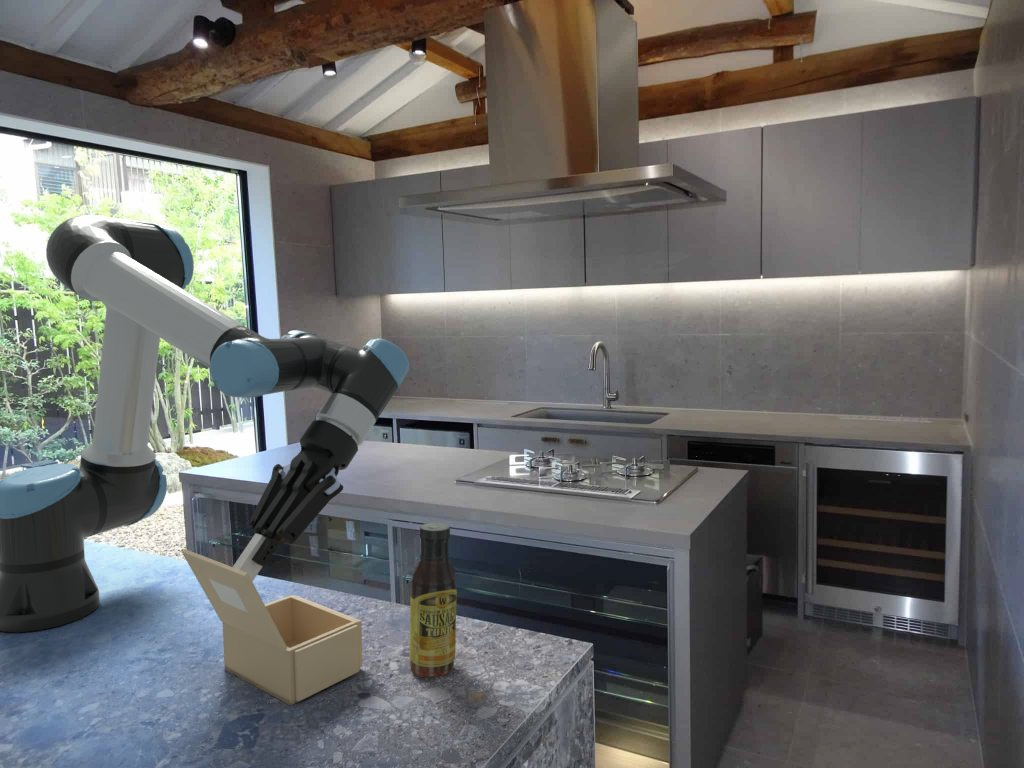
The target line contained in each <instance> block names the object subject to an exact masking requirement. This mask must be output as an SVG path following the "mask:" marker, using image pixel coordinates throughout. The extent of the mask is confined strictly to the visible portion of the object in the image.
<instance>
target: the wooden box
mask: <svg viewBox="0 0 1024 768" xmlns="http://www.w3.org/2000/svg"><path fill="white" fill-rule="evenodd" d="M264 605H265V607H266V608H267V610H268V612H269V614H270V616H271V618H272V620H273V622H274V624H275V625H276V627H277V629H278V631H279V633H280V635H281V637H282V639H283V641H284V643H285V644H286V646H287V649H286V650H285V651H283V650H281V649H279V648H277V647H275V646H273V645H270V644H268V643H266V642H264V641H262V640H260V639H258V638H256V637H254V636H251V635H249V634H247V633H245V632H243V631H241V630H239V629H237V628H235V627H233V626H230V625H228V624H226V623H224V622H222V639H223V642H222V643H223V664H224V665H223V668H224V670H225V671H226V672H229V673H230V674H232V675H233V676H236V677H238V678H239V679H240V680H243V681H244V682H245V683H246V682H247V683H249V684H250V685H252V686H254V687H256V688H258V689H259V690H261V691H262V692H265V693H267V694H269V695H270V696H272V697H274V698H276V699H278V700H279V701H282V702H283V703H285V704H287V705H288V706H290V707H291V706H293V705H295V704H297V703H299V702H301V701H303V700H305V699H307V698H309V697H311V696H312V695H315V694H317V693H319V692H321V691H323V690H325V689H327V688H330V686H333V685H335V684H337V683H339V682H342V681H343V680H345V679H347V678H350V677H351V676H353V675H355V674H357V673H359V672H360V671H361V667H363V635H362V634H363V632H362V620H360V619H358V618H355V617H352V616H350V615H347V614H346V613H343V612H340V611H338V610H334V609H332V608H329V607H328V606H324V605H322V604H320V603H317V602H314V601H311V600H309V599H306V598H304V597H301V596H298V595H293V594H291V595H288V596H284V597H281V598H279V599H276V600H273V601H270V602H267V603H264Z"/></svg>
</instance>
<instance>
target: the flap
mask: <svg viewBox="0 0 1024 768" xmlns="http://www.w3.org/2000/svg"><path fill="white" fill-rule="evenodd" d="M181 554H182V555H183V557H184V559H185V561H186V562H187V564H188V566H189V568H190V570H191V571H192V573H193V574H194V576H195V578H196V580H197V581H198V584H199V585H200V587H201V589H202V591H203V593H204V594H205V596H206V597H207V599H208V601H209V603H210V605H211V606H212V608H213V610H214V612H215V613H216V615H217V617H218V618H219V620H220V622H222V623H223V622H224V623H226V624H228V625H230V626H233V627H235V628H237V629H239V630H241V631H243V632H245V633H247V634H249V635H251V636H254V637H256V638H258V639H260V640H262V641H264V642H266V643H268V644H270V645H273V646H275V647H277V648H279V649H281V650H283V651H285V650H286V649H287V646H286V644H285V643H284V641H283V639H282V637H281V635H280V633H279V631H278V629H277V627H276V625H275V624H274V622H273V620H272V618H271V616H270V614H269V612H268V610H267V608H266V607H265V605H264V604H265V603H264V601H263V599H262V597H261V595H260V594H259V592H258V590H257V588H256V586H255V584H254V581H253V582H252V580H251V578H250V576H249V574H248V573H246V572H244V571H241V570H238V569H236V568H233V566H230V565H229V564H228V565H227V564H225V563H223V562H219V560H218V561H217V560H215V559H212V558H210V557H207V556H205V555H202V554H199V553H196V552H193V551H191V550H188V549H186V548H184V549H183V550H181Z"/></svg>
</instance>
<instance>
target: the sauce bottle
mask: <svg viewBox="0 0 1024 768" xmlns="http://www.w3.org/2000/svg"><path fill="white" fill-rule="evenodd" d="M419 537H420V554H419V559H420V561H419V562H418V564H417V565H416V566H415V567H414V571H413V574H412V577H411V592H410V599H409V600H410V604H409V605H410V614H409V617H410V618H409V654H408V655H409V656H408V658H409V660H410V661H409V664H410V665H409V666H410V671H411V673H413V674H414V675H415V676H416V677H417V676H418V677H422V678H427V679H433V678H434V679H435V678H440V677H444V676H445V675H447V674H449V673H451V672H452V670H453V668H454V664H455V659H456V646H457V645H456V643H457V639H456V637H457V636H456V635H457V629H456V628H457V623H456V622H457V595H458V594H457V593H458V591H457V590H458V589H457V581H456V571H455V568H454V566H453V564H452V562H451V560H450V553H449V539H450V537H451V527H450V525H449V524H446V523H443V522H429V523H424V524H422V525H421V526H420V527H419Z"/></svg>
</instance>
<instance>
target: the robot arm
mask: <svg viewBox="0 0 1024 768" xmlns="http://www.w3.org/2000/svg"><path fill="white" fill-rule="evenodd" d="M45 251H46V252H45V254H46V255H45V256H46V260H47V261H46V262H47V264H48V268H49V269H50V271H51V272H52V275H54V277H55V278H56V280H58V282H59V283H61V284H62V285H63V286H64V287H65V288H66V289H68V290H70V291H71V292H73V293H75V294H76V295H78V296H79V297H81V298H82V299H85V300H87V301H90V302H101V304H102V305H104V307H105V320H104V327H103V328H104V330H103V335H102V336H103V338H102V347H101V359H100V367H99V376H98V387H97V396H96V405H95V406H96V407H95V416H94V426H93V433H92V435H93V436H92V442H91V443H90V444H89V445H88V446H86V447H85V448H83V449H82V450H81V453H80V454H81V455H80V460H79V461H80V463H79V467H78V466H77V465H75V464H72V463H52V464H47V465H44V466H34V467H30V468H27V469H23V470H20V471H17V472H14V473H11V474H9V475H8V476H6V477H4V478H3V479H1V480H0V632H2V633H3V632H5V633H25V632H35V631H41V630H47V629H50V628H55V627H59V626H63V625H65V624H69V623H72V622H75V621H77V620H78V621H79V620H80V619H82V618H84V617H87V616H88V615H90V614H92V613H93V612H95V611H96V610H97V609H96V608H97V606H98V605H99V606H100V604H99V603H100V602H101V601H100V590H99V588H98V585H97V583H96V581H95V578H94V576H93V574H92V572H91V570H90V567H89V566H88V563H87V562H86V557H85V541H84V540H85V539H86V538H89V537H93V536H96V535H99V534H102V533H105V532H108V531H112V530H115V529H119V528H122V527H124V526H125V527H127V526H132V525H134V524H137V523H138V522H141V521H143V520H145V519H147V518H149V517H151V516H153V515H154V514H156V512H157V511H159V509H160V508H161V506H162V505H163V503H164V501H165V498H166V493H167V490H168V487H167V486H168V481H167V475H166V474H163V472H164V468H163V466H162V465H161V463H160V462H159V461H158V460H157V459H156V457H157V455H156V453H155V452H154V451H153V450H152V448H150V447H149V445H148V444H149V439H150V438H149V437H150V429H151V428H150V427H151V420H152V419H151V418H152V410H153V402H154V396H155V394H154V393H155V385H156V376H157V375H156V374H157V369H158V358H159V350H160V342H161V339H162V340H163V341H165V342H167V343H168V344H170V345H172V346H173V347H174V348H176V349H178V350H179V351H181V352H182V353H184V354H186V355H187V356H189V357H190V358H192V359H194V360H195V361H196V362H199V364H200V363H201V364H202V365H204V366H205V367H207V368H208V369H209V371H210V377H211V379H212V381H213V382H214V383H215V385H216V387H217V389H218V390H219V391H220V392H221V393H222V394H224V395H226V396H229V397H232V398H257V397H262V396H266V395H270V394H276V393H282V392H289V391H297V390H298V391H299V390H303V389H311V388H314V389H318V390H321V391H325V392H327V393H329V394H330V395H329V397H328V398H327V399H326V401H325V402H324V404H323V405H322V407H320V409H319V411H318V412H317V414H316V415H315V420H312V421H311V423H310V424H309V426H308V427H307V429H306V430H305V432H304V433H303V435H302V436H301V437H300V439H299V444H300V451H299V452H298V453H297V455H295V456H294V457H293V458H292V459H291V460H290V463H289V464H286V465H284V466H282V465H281V464H280V463H277V464H275V465H274V466H273V467H272V470H271V471H272V473H271V475H270V476H271V477H270V479H269V481H268V483H267V485H266V487H265V488H264V489H265V490H264V492H263V493H262V494H261V497H260V499H259V501H258V503H257V505H256V507H255V509H254V510H253V512H252V515H251V517H250V519H249V521H248V523H247V524H248V526H249V527H250V528H251V529H252V530H253V534H252V535H251V538H250V539H249V540H248V542H247V543H246V545H245V546H244V548H243V549H242V551H241V553H240V556H239V557H238V558H237V560H236V562H235V563H234V565H232V567H233V568H236V569H238V570H241V571H244V572H246V573H248V574H249V576H250V578H251V580H252V582H253V583H254V580H255V579H256V577H257V575H258V574H259V573H260V571H261V570H262V568H263V567H264V566H266V564H267V563H268V562H269V559H270V558H271V557H272V555H273V554H274V552H275V551H276V549H277V548H278V547H279V546H282V545H283V544H285V543H288V544H290V545H292V544H294V543H295V542H296V541H297V540H298V538H299V537H300V536H301V535H302V533H303V532H305V530H306V529H307V528H308V526H310V524H311V523H312V522H313V521H314V520H315V519H316V517H317V516H318V515H319V514H320V512H322V510H323V509H324V508H325V507H326V505H327V504H328V503H329V502H330V501H331V500H332V499H333V498H335V497H336V496H338V495H339V494H340V493H341V492H343V490H344V485H342V483H341V482H340V481H338V478H337V476H338V474H339V472H340V471H343V470H346V469H347V468H348V467H349V465H350V463H351V462H352V460H354V457H355V456H356V454H357V453H358V451H359V446H362V445H363V443H364V441H365V440H366V438H367V436H368V435H369V433H370V432H371V431H372V429H373V428H374V425H375V424H376V422H377V421H378V420H379V417H380V416H381V414H382V413H383V411H384V410H385V409H386V407H387V405H388V404H389V402H390V401H391V400H392V398H393V397H394V396H395V394H396V392H397V391H399V389H400V387H401V384H402V382H403V381H404V379H405V377H406V375H407V373H408V372H409V369H410V361H409V359H408V357H407V355H406V353H405V352H404V351H403V350H402V349H401V348H400V347H399V346H398V345H396V344H395V343H393V342H392V341H390V340H387V339H385V338H382V337H381V338H378V337H377V338H371V339H369V340H368V341H367V342H366V344H364V345H363V346H362V348H361V349H360V348H357V347H354V346H353V347H352V346H349V345H346V344H343V343H340V342H337V341H333V340H331V339H328V338H325V337H323V336H320V335H318V334H317V333H313V332H306V331H302V330H298V329H294V330H290V331H288V332H287V333H286V334H284V335H282V336H280V338H267V337H265V336H262V335H261V334H259V333H258V332H255V331H254V330H252V329H250V328H248V327H247V326H245V325H244V324H242V323H240V322H239V321H237V320H235V319H234V318H232V317H230V316H228V314H225V313H223V312H222V311H220V310H218V309H217V308H215V307H214V306H212V305H210V304H208V303H206V302H205V301H203V300H202V299H200V298H199V297H197V296H195V295H194V294H192V293H190V292H188V291H187V290H185V289H187V286H188V285H190V284H191V281H192V279H193V276H194V275H193V274H194V268H195V267H194V259H193V254H192V250H191V248H190V246H189V244H188V243H187V242H186V240H185V238H184V237H183V236H182V234H181V233H179V231H177V230H175V229H174V228H172V227H169V226H166V225H162V224H158V223H154V222H152V221H142V220H134V219H127V218H118V217H110V216H109V217H108V216H104V215H97V214H83V215H78V216H73V217H71V218H68V219H66V220H64V221H63V222H61V223H60V224H59V225H58V226H56V227H55V228H54V230H53V231H52V232H51V234H50V236H49V238H48V240H47V243H46V250H45ZM99 606H98V607H99ZM95 609H96V610H95ZM92 611H93V612H92ZM91 612H92V613H91Z"/></svg>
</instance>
